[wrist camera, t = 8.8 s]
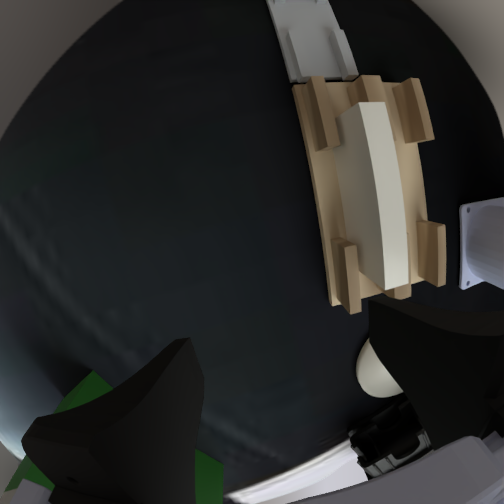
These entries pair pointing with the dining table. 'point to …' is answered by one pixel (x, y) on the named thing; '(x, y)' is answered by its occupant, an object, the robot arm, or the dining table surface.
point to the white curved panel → (372, 193)
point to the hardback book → (88, 390)
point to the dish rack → (328, 192)
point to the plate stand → (311, 40)
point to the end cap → (389, 438)
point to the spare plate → (374, 374)
